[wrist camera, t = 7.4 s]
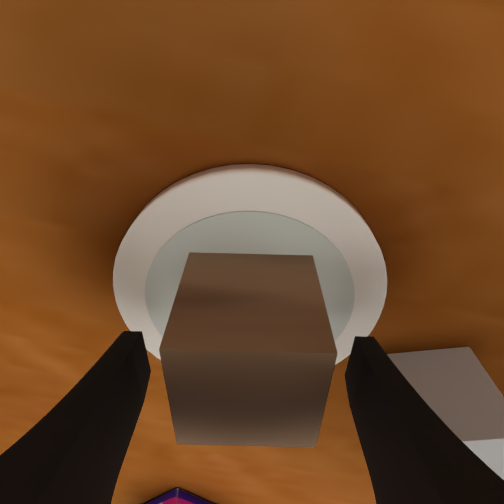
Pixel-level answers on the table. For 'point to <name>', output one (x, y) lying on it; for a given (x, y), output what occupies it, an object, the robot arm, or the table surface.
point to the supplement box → (178, 498)
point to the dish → (250, 244)
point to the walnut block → (248, 351)
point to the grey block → (460, 398)
